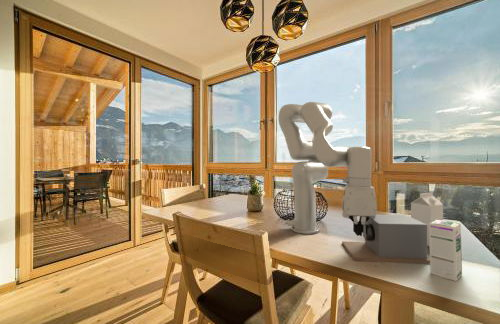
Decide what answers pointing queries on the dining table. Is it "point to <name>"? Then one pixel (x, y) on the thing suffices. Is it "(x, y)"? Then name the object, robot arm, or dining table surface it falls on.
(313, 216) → the robot arm
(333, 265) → the dining table surface
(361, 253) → the block
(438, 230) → the syrup box
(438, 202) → the milk carton
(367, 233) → the shaft
